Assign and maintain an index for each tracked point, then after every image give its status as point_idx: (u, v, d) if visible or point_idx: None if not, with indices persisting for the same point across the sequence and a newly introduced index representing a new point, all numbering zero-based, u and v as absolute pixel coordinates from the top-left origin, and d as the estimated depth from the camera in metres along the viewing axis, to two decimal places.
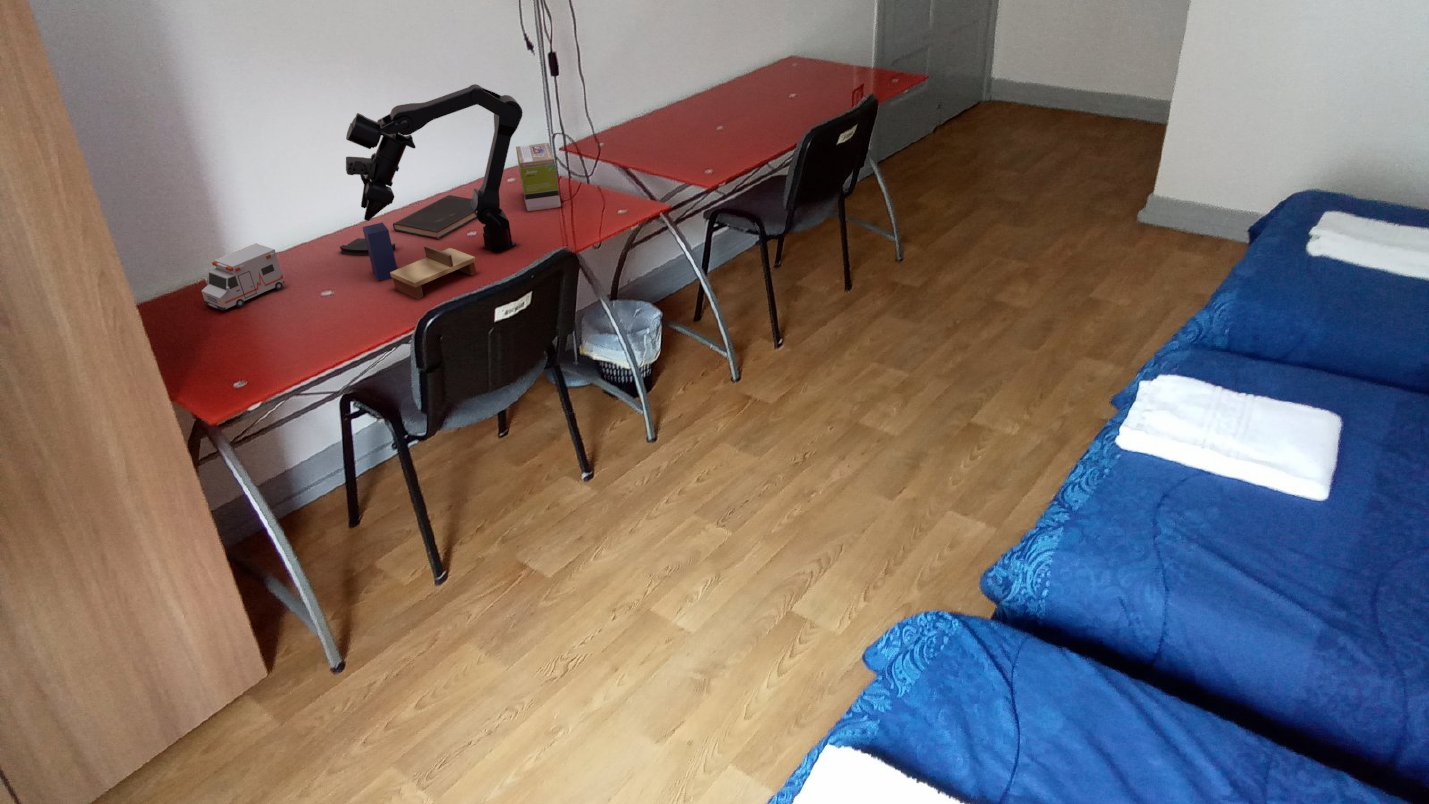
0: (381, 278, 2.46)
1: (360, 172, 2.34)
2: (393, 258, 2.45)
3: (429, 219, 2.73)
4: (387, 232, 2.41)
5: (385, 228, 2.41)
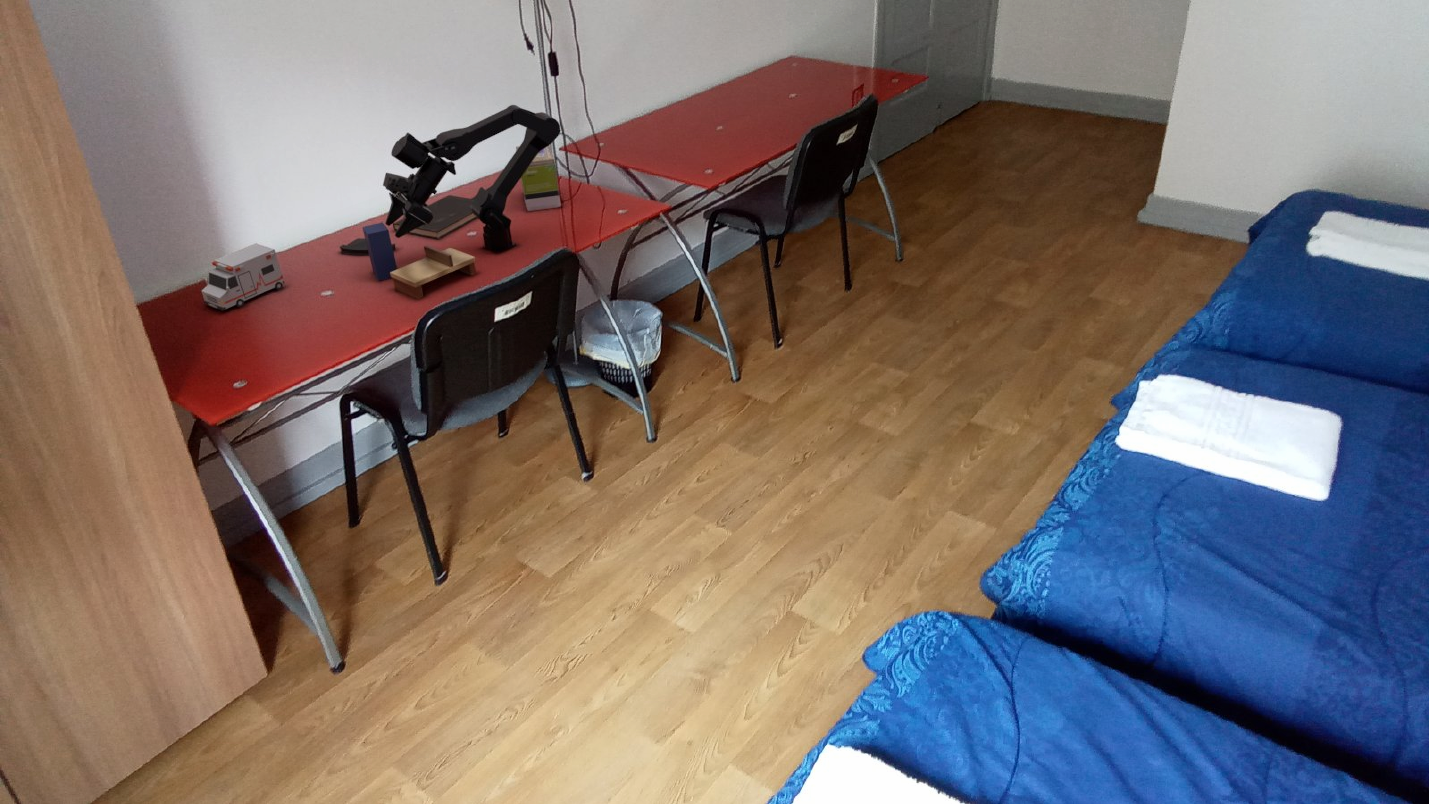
0: (381, 278, 2.46)
1: (402, 189, 2.37)
2: (393, 258, 2.45)
3: None
4: (387, 232, 2.41)
5: (385, 228, 2.41)
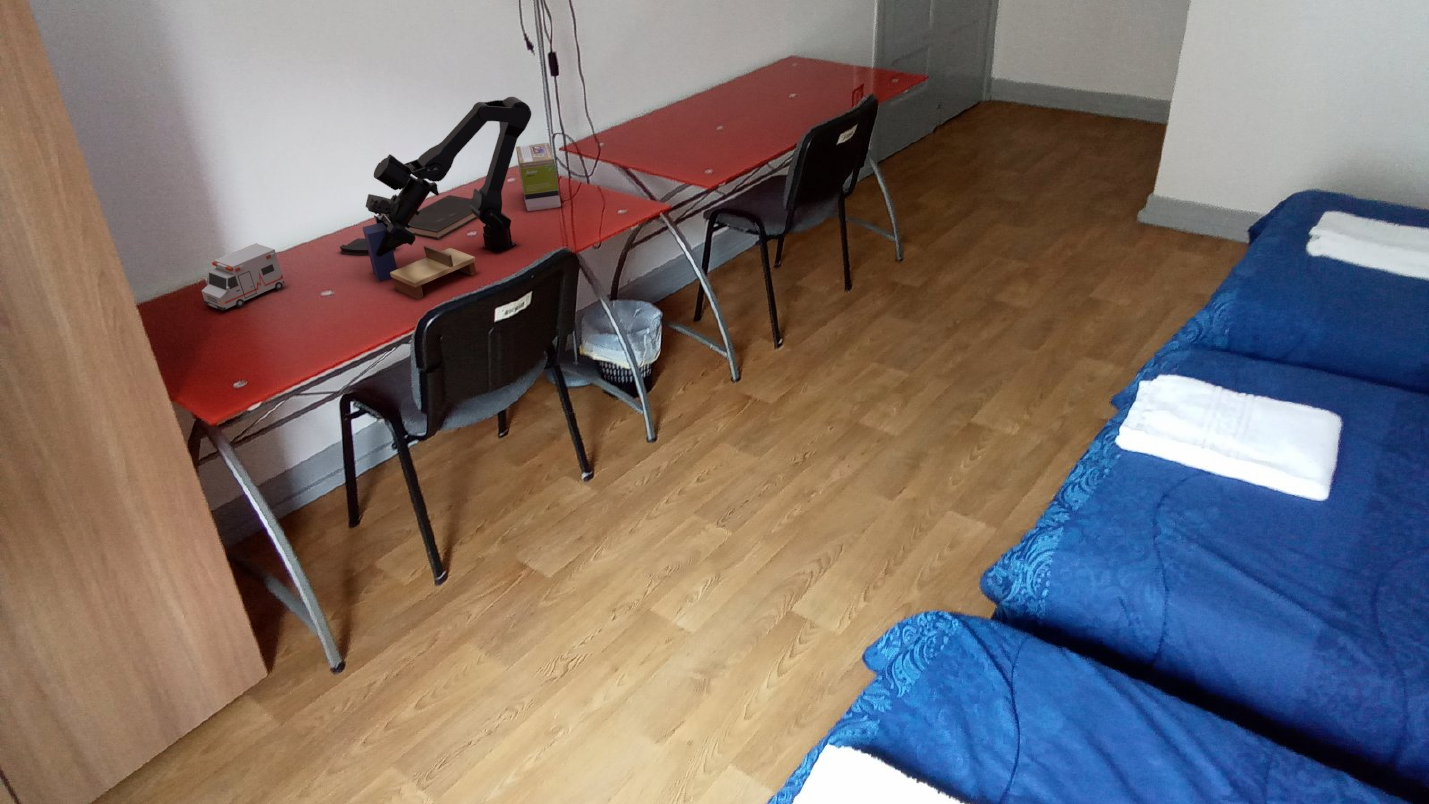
0: (381, 278, 2.46)
1: (384, 211, 2.37)
2: (393, 258, 2.45)
3: (429, 219, 2.73)
4: None
5: None
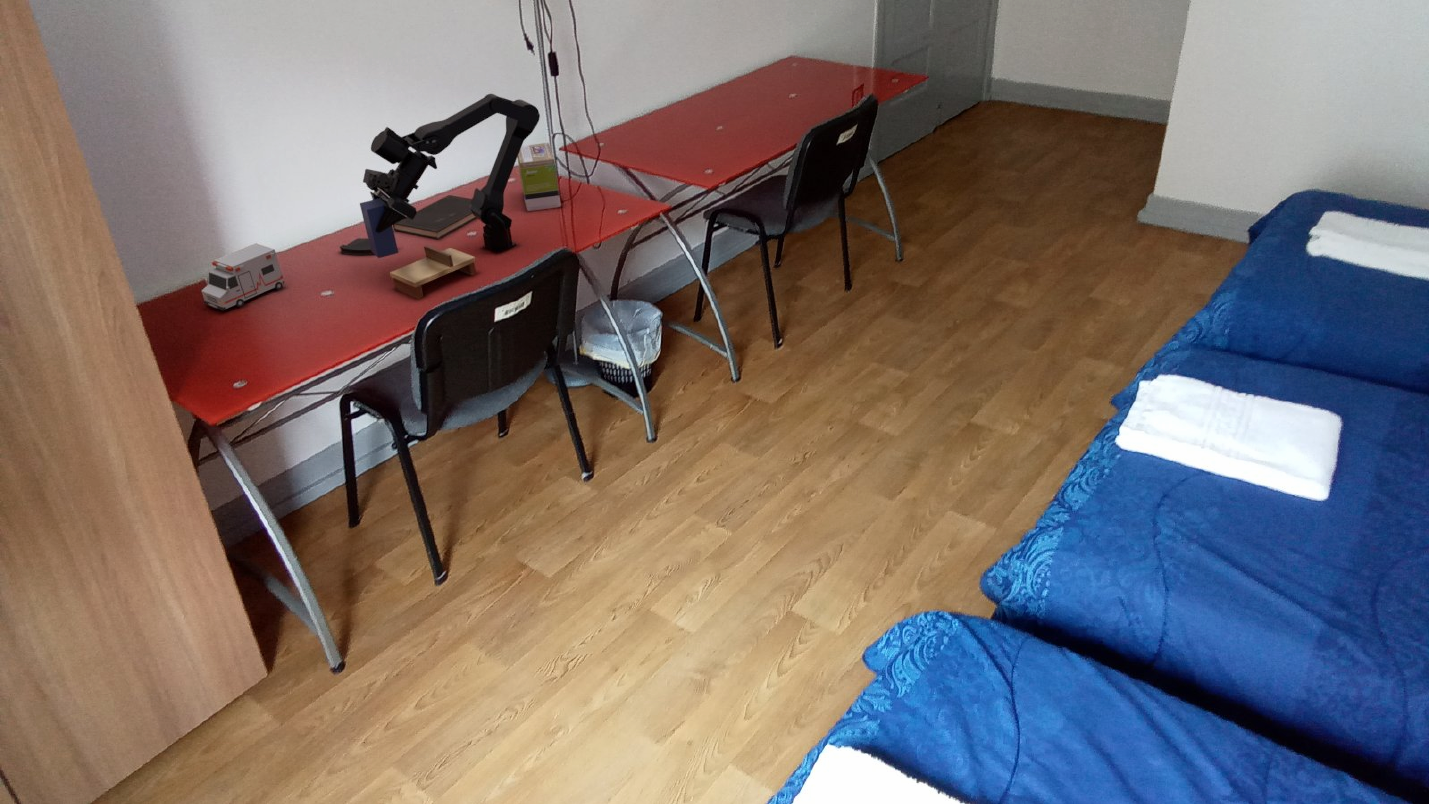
0: (381, 255, 2.40)
1: (383, 185, 2.32)
2: (392, 234, 2.40)
3: (429, 219, 2.73)
4: None
5: None
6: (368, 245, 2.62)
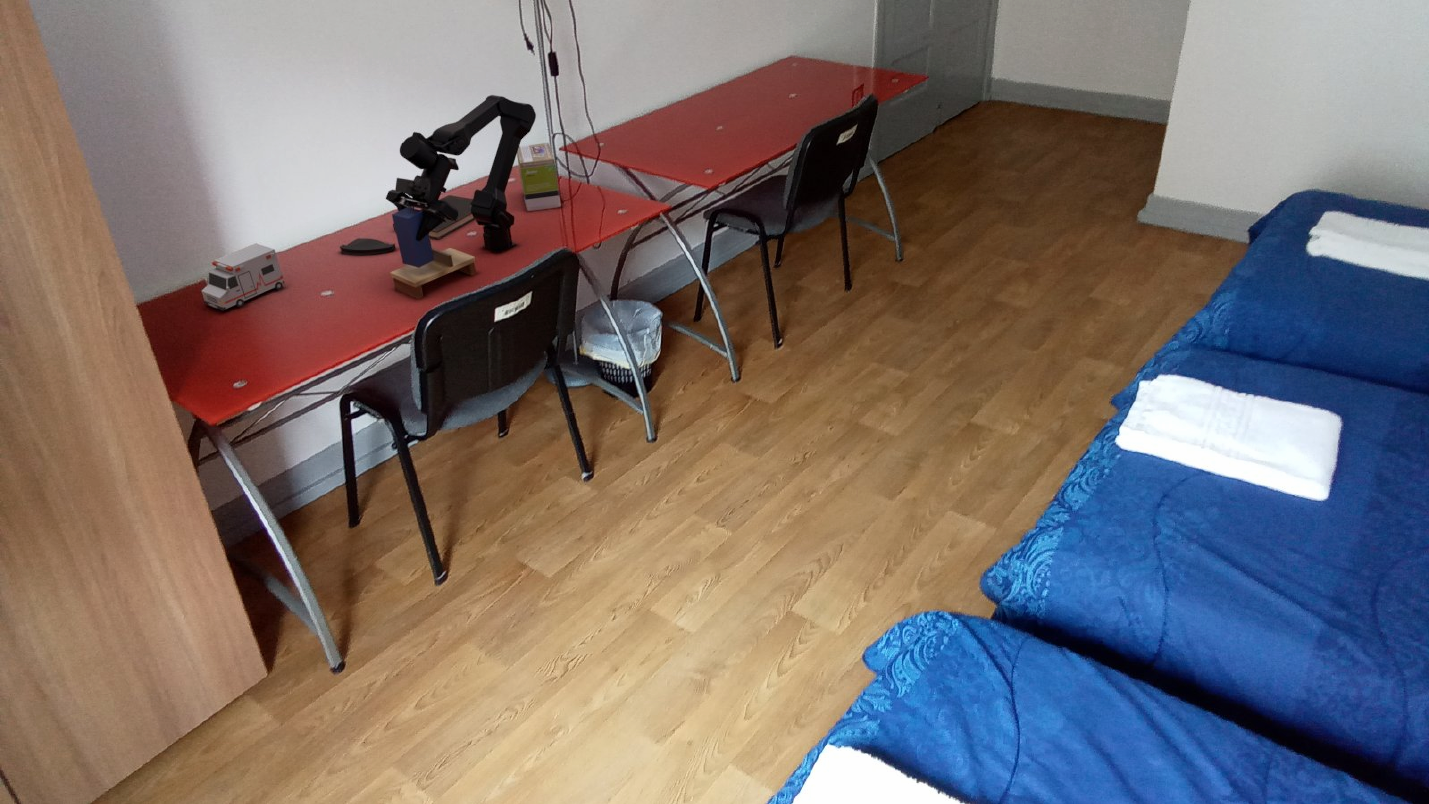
0: (420, 264, 2.35)
1: (423, 190, 2.28)
2: (429, 241, 2.35)
3: None
4: None
5: (419, 210, 2.32)
6: (368, 245, 2.62)
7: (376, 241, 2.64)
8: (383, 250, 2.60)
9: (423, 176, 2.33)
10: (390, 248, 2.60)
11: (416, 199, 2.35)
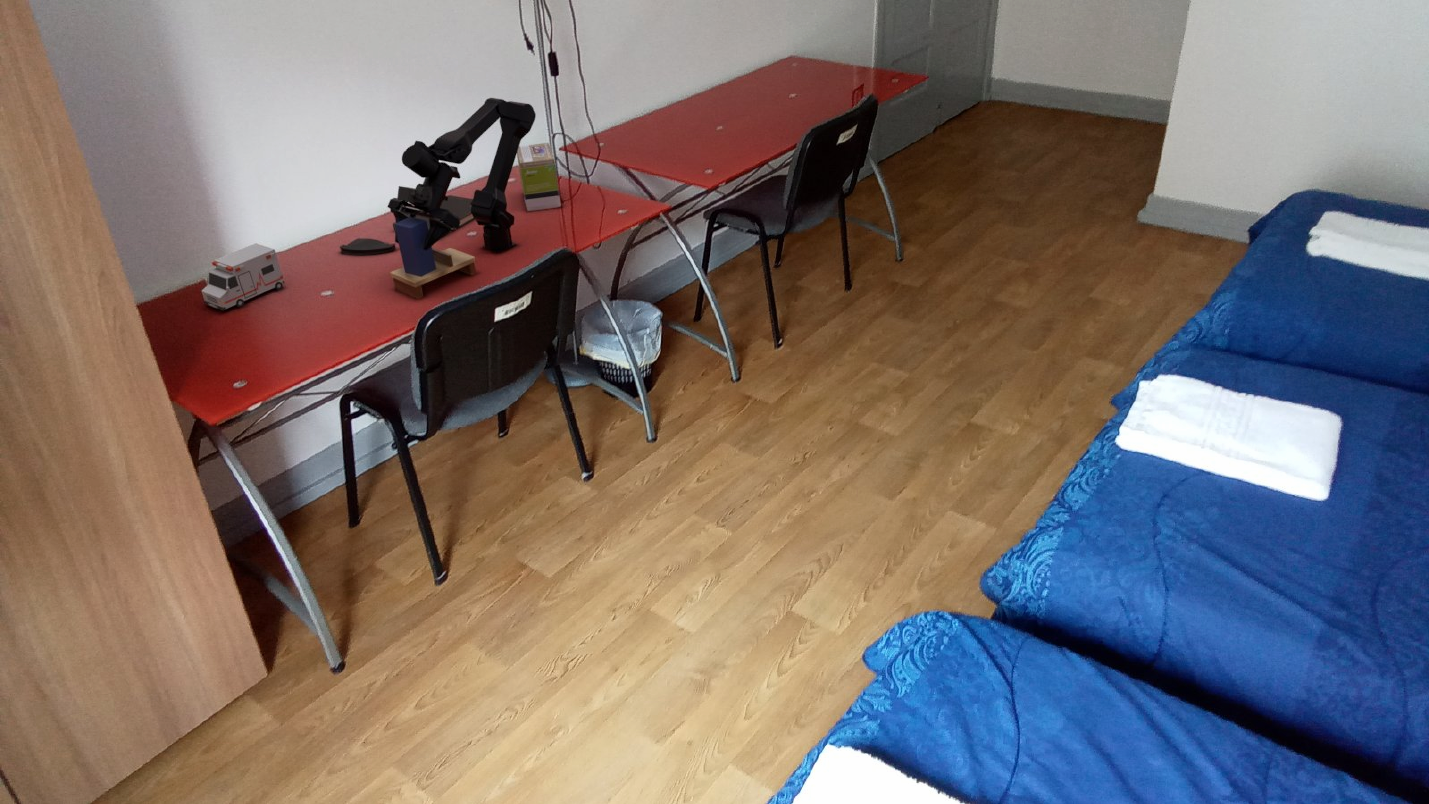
0: (423, 273, 2.36)
1: (425, 199, 2.29)
2: (431, 250, 2.37)
3: None
4: (425, 223, 2.33)
5: (421, 220, 2.33)
6: (368, 245, 2.62)
7: (376, 241, 2.64)
8: (383, 250, 2.60)
9: (425, 184, 2.34)
10: (390, 248, 2.60)
11: (418, 207, 2.36)
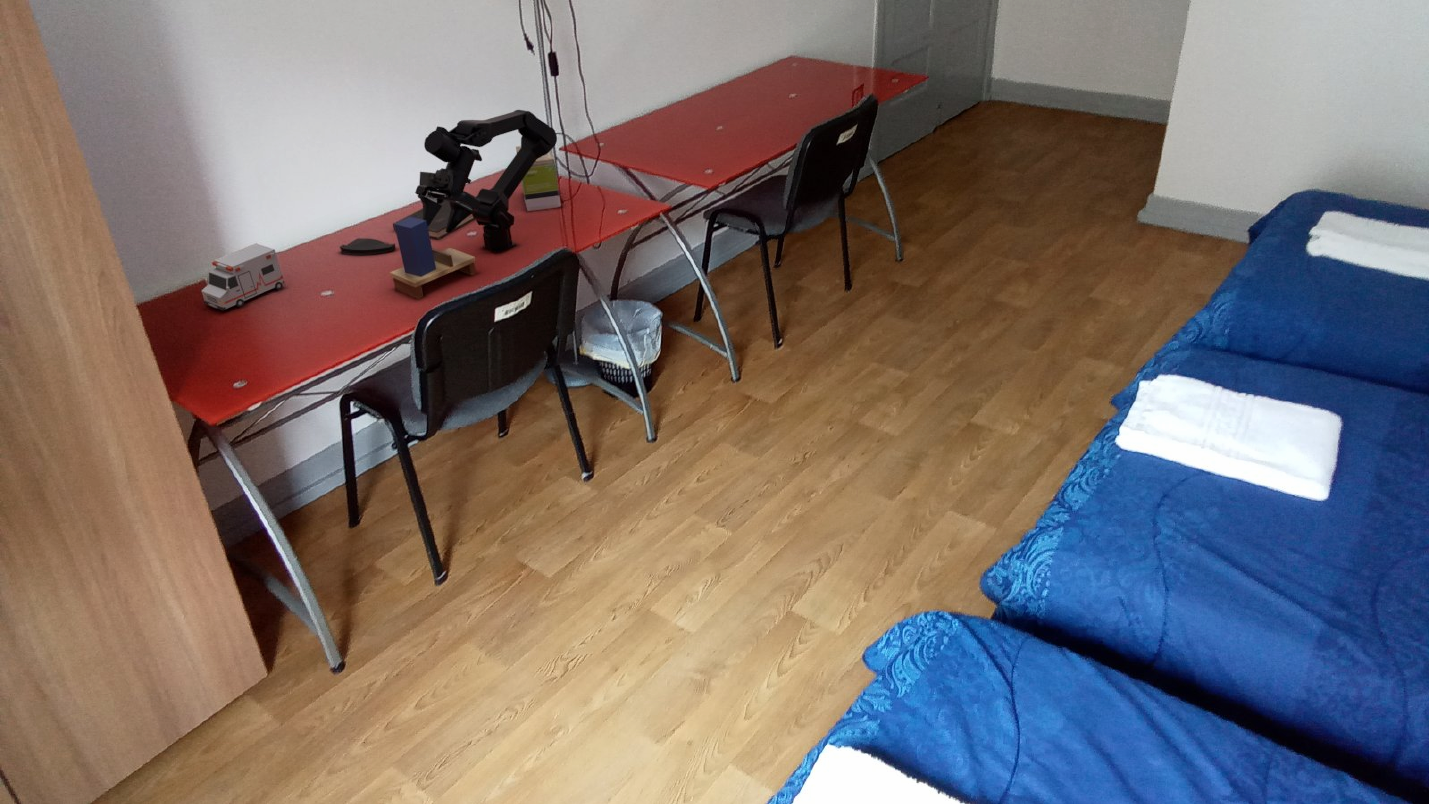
0: (423, 273, 2.36)
1: (444, 182, 2.34)
2: (431, 250, 2.37)
3: None
4: (425, 223, 2.33)
5: (421, 220, 2.33)
6: (368, 245, 2.62)
7: (376, 241, 2.64)
8: (383, 250, 2.60)
9: (447, 169, 2.39)
10: (390, 248, 2.60)
11: (442, 191, 2.42)
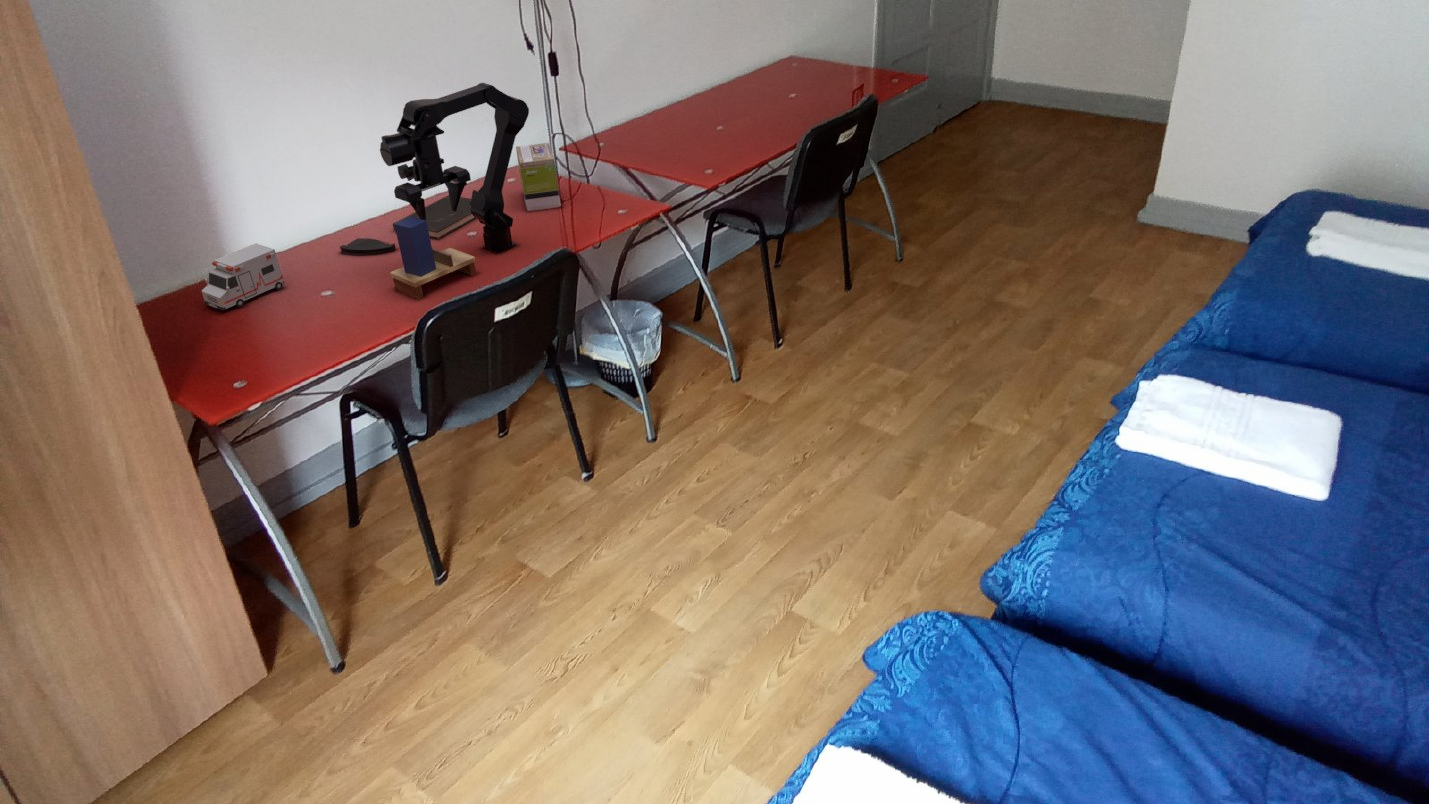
0: (423, 273, 2.36)
1: (403, 176, 2.40)
2: (431, 250, 2.37)
3: (429, 219, 2.73)
4: (425, 223, 2.33)
5: (421, 220, 2.33)
6: (368, 245, 2.62)
7: (376, 241, 2.64)
8: (383, 250, 2.60)
9: None
10: (390, 248, 2.60)
11: None
